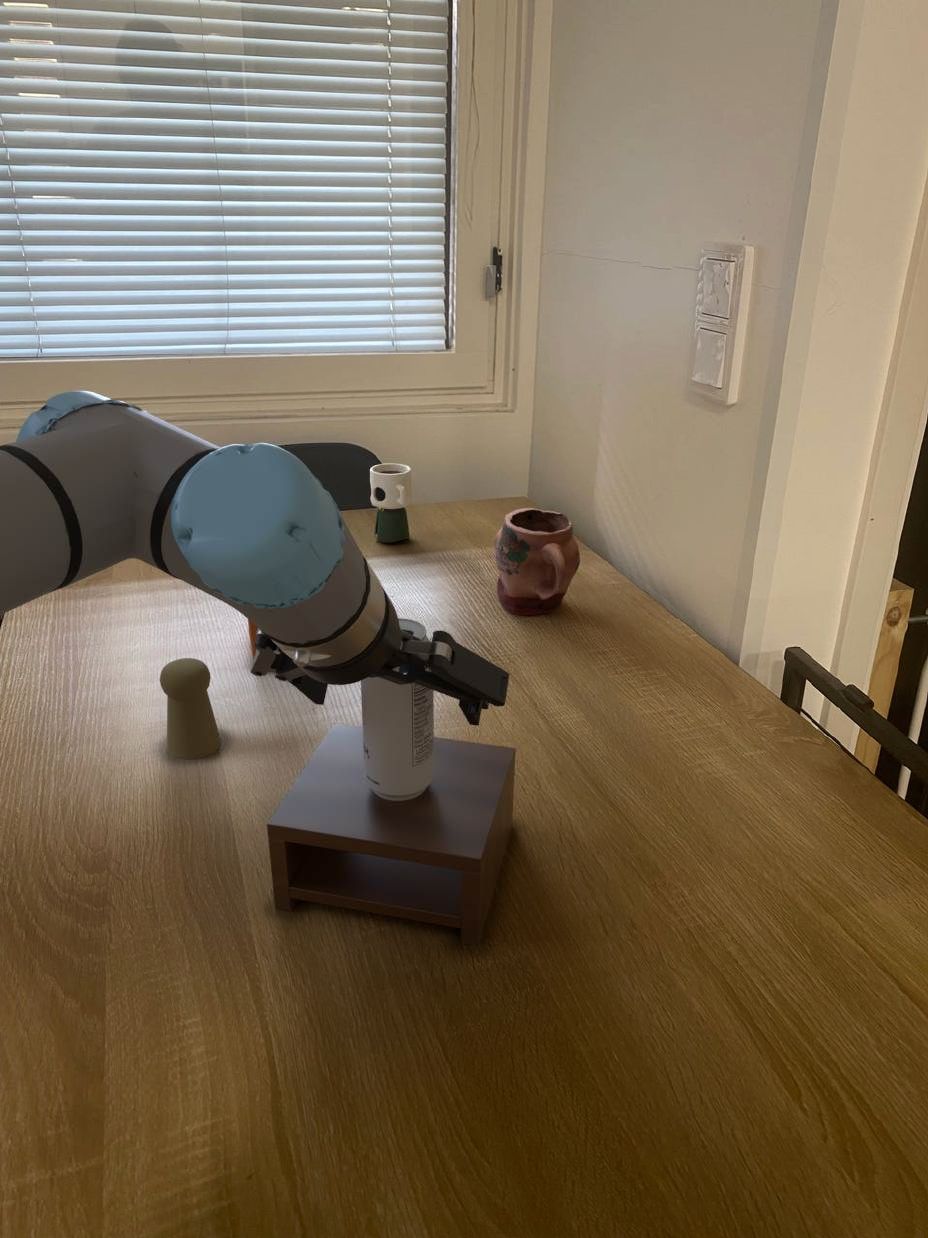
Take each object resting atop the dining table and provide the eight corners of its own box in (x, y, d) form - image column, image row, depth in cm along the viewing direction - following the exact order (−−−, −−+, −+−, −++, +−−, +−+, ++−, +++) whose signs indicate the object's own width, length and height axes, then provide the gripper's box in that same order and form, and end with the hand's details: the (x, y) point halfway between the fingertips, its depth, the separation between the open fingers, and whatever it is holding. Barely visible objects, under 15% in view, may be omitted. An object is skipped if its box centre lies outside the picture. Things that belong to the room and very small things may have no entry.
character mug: (361, 532, 165) (359, 463, 159) (397, 527, 168) (396, 458, 162) (386, 552, 156) (384, 479, 151) (423, 546, 159) (422, 474, 154)
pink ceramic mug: (603, 629, 131) (611, 538, 125) (526, 642, 127) (531, 549, 121) (541, 577, 148) (546, 495, 141) (472, 587, 143) (473, 503, 137)
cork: (220, 732, 105) (210, 647, 100) (225, 761, 100) (214, 673, 95) (165, 740, 103) (153, 655, 98) (167, 770, 98) (154, 681, 93)
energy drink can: (379, 759, 83) (375, 610, 77) (442, 770, 82) (443, 620, 75) (354, 797, 78) (347, 642, 71) (420, 810, 76) (419, 653, 70)
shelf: (478, 954, 75) (480, 859, 71) (275, 916, 79) (266, 824, 75) (511, 833, 90) (515, 747, 85) (338, 805, 93) (334, 722, 89)
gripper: (133, 647, 59) (251, 723, 78) (515, 695, 54) (538, 763, 74) (164, 541, 61) (271, 641, 81) (533, 578, 56) (550, 674, 76)
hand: (398, 699), depth 77 cm, fingers open, 13 cm apart
